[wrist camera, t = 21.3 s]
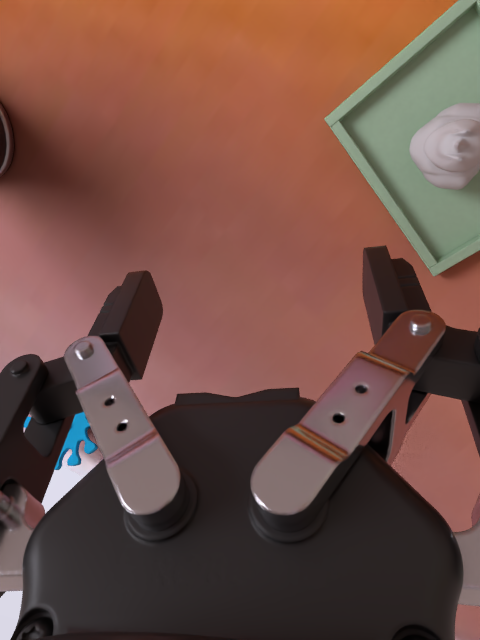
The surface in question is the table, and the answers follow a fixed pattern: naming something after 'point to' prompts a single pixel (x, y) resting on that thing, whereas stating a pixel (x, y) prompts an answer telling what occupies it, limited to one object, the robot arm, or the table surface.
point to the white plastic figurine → (449, 146)
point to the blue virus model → (74, 440)
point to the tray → (405, 120)
